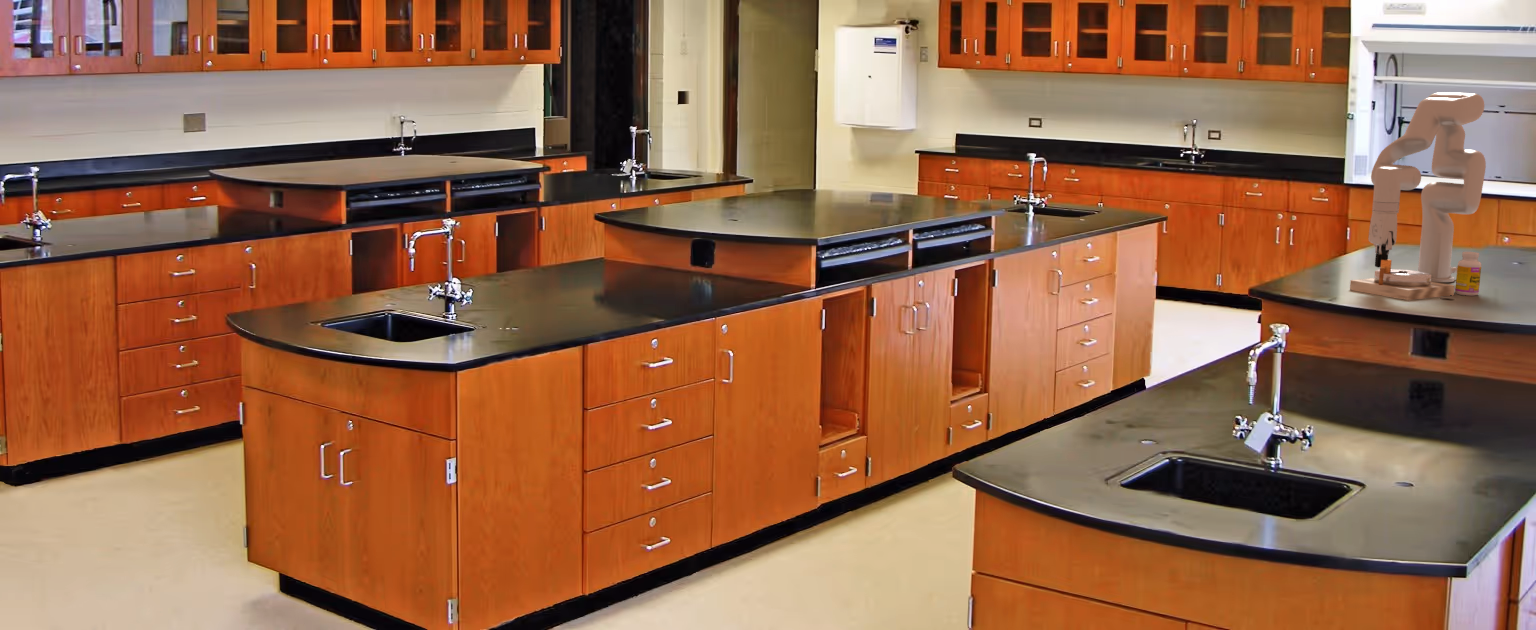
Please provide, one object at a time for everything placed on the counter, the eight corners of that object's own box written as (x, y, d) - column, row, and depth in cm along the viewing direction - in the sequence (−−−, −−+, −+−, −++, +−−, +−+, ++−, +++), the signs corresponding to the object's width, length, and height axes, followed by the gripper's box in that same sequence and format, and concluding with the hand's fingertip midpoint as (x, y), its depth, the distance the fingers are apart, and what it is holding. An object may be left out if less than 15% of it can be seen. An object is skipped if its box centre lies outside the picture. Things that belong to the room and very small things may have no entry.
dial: (1416, 278, 483) (1418, 256, 482) (1439, 286, 467) (1442, 264, 466) (1365, 278, 482) (1367, 256, 481) (1387, 286, 467) (1389, 263, 465)
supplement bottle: (1468, 296, 470) (1472, 254, 467) (1449, 293, 475) (1453, 251, 473) (1483, 295, 473) (1487, 253, 470) (1464, 292, 478) (1468, 250, 476)
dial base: (1395, 285, 490) (1397, 260, 488) (1453, 295, 472) (1456, 269, 470) (1349, 289, 479) (1351, 264, 478) (1407, 300, 461) (1410, 273, 460)
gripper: (1363, 204, 481) (1359, 263, 485) (1383, 210, 467) (1379, 270, 470) (1387, 204, 482) (1382, 263, 485) (1408, 210, 467) (1403, 270, 470)
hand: (1380, 266), depth 477 cm, fingers closed
